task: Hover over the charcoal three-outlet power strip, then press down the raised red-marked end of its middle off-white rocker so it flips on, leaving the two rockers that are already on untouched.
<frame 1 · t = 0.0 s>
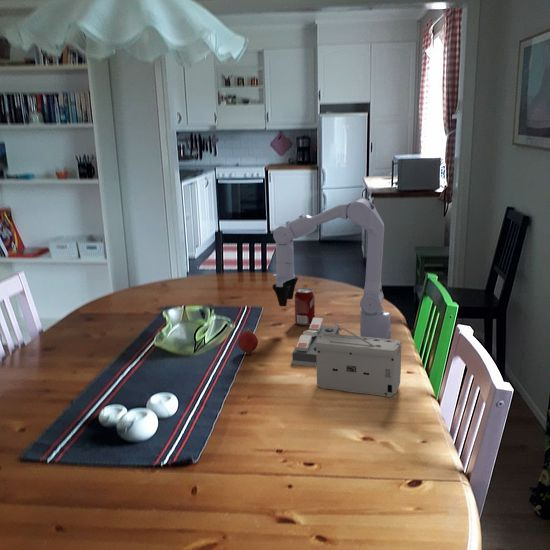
hand: (286, 302, 182), 10 cm above the table, tool pointing down, fingers open, 7 cm apart
soda can: (305, 323, 192), on the table
onion: (248, 354, 167), on the table
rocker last: (304, 342, 162), point 5 cm above the table, hinge at -15.0°
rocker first: (316, 324, 177), point 5 cm above the table, hinge at -15.0°
stereo radio cassette player: (357, 388, 144), on the table
power strip: (317, 348, 170), on the table
rocker middle: (310, 333, 170), point 5 cm above the table, hinge at 15.0°
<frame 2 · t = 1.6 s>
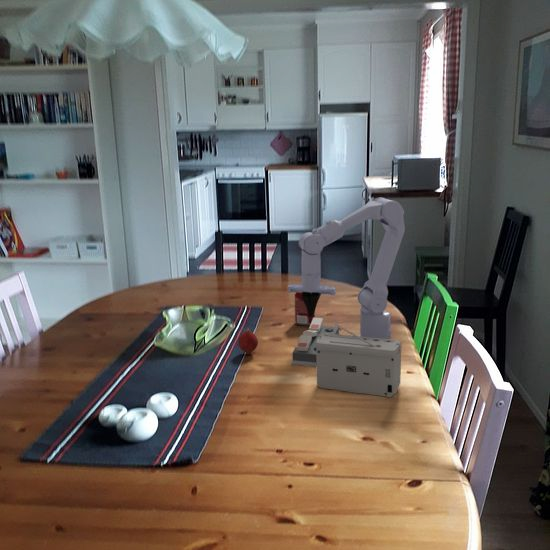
hand: (311, 315, 170), 9 cm above the table, tool pointing down, fingers closed
nothing on the table moved.
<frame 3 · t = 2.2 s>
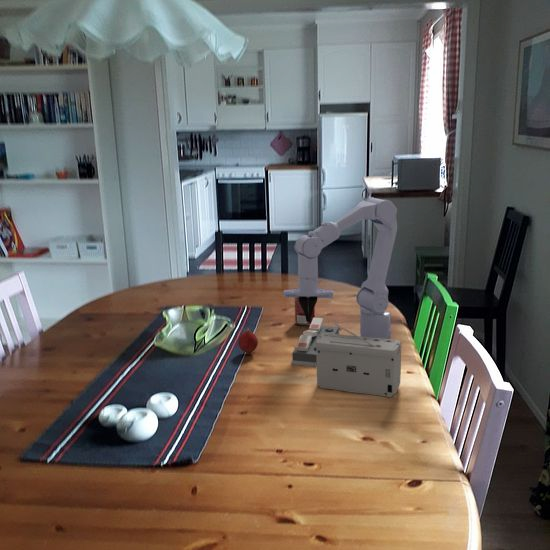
hand: (308, 320, 167), 9 cm above the table, tool pointing down, fingers closed
nothing on the table moved.
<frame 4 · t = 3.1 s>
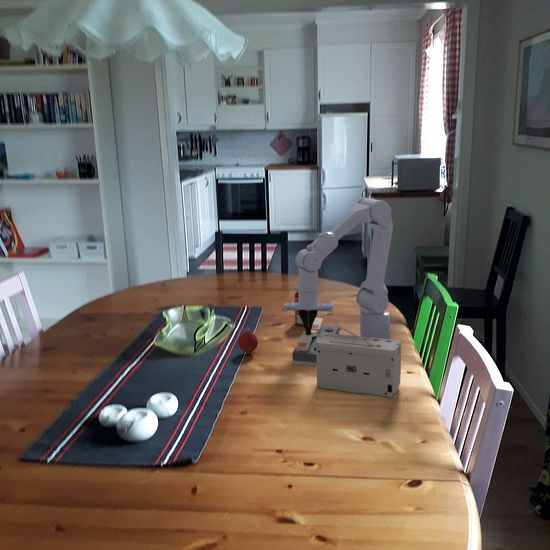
hand: (308, 333, 167), 5 cm above the table, tool pointing down, fingers closed, pressing on rocker middle
rocker middle: (310, 333, 170), point 5 cm above the table, hinge at 14.4°, touching gripper
everything else where it was.
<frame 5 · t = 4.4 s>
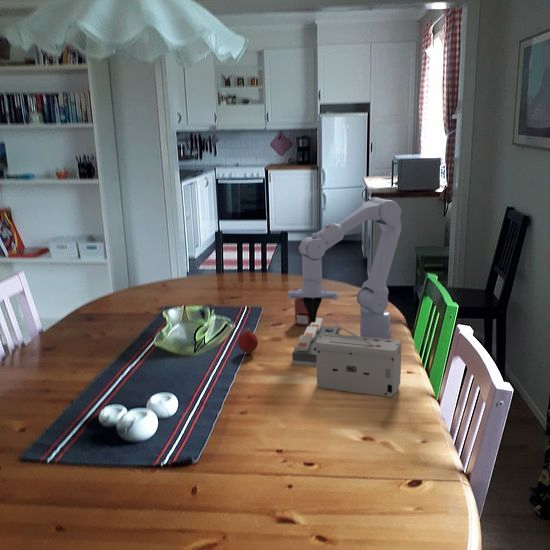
hand: (313, 321, 168), 9 cm above the table, tool pointing down, fingers closed
rocker middle: (310, 333, 170), point 5 cm above the table, hinge at -11.1°
everything else where it was.
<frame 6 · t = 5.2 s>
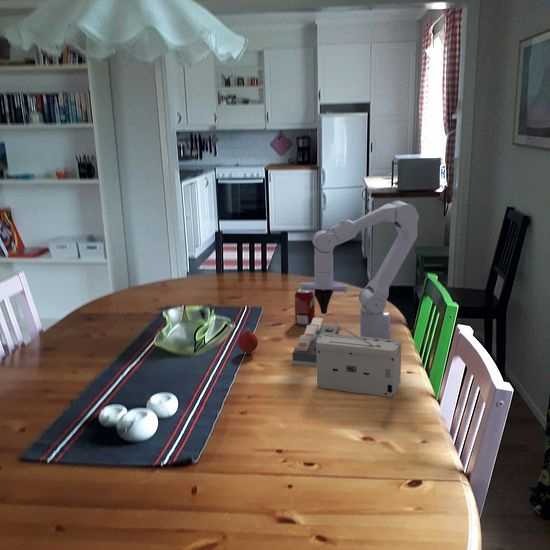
hand: (324, 312, 173), 9 cm above the table, tool pointing down, fingers closed
rocker middle: (310, 333, 170), point 5 cm above the table, hinge at -21.9°, touching power strip
everything else where it was.
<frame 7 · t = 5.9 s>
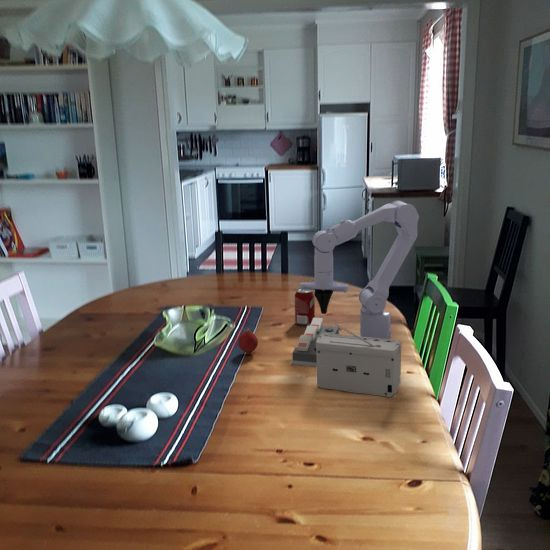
hand: (324, 312, 173), 9 cm above the table, tool pointing down, fingers closed
rocker middle: (310, 333, 170), point 5 cm above the table, hinge at -17.5°
everything else where it was.
at the end: rocker middle at -16° (first picture: +15°); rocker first at -15° (first picture: -15°); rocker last at -15° (first picture: -15°) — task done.
